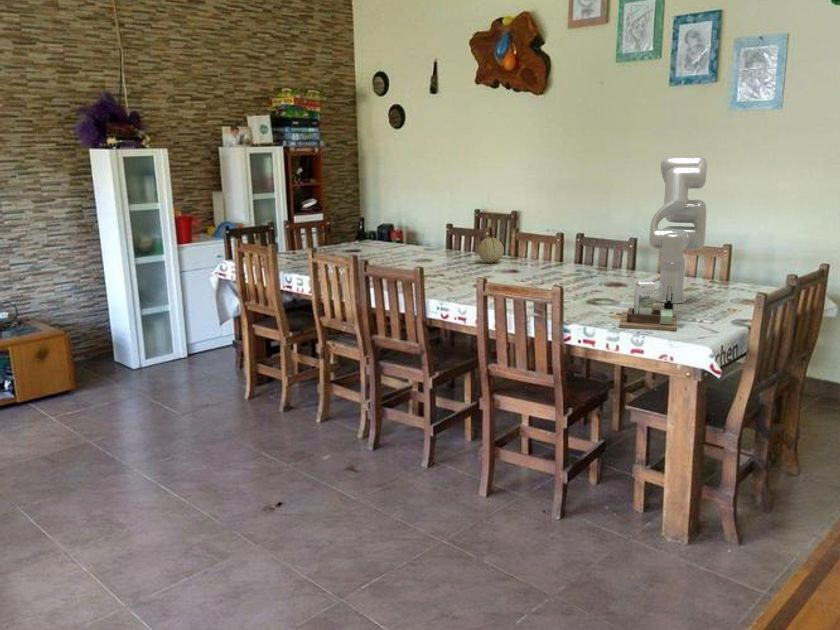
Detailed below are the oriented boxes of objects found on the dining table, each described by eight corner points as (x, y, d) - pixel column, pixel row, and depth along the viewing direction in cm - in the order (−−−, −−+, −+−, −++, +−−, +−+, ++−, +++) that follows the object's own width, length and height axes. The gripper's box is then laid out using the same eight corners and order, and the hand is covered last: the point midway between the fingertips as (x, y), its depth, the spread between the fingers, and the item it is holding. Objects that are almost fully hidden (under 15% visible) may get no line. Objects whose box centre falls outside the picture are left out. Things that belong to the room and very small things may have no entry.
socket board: (622, 314, 288) (623, 304, 287) (676, 317, 281) (676, 306, 280) (619, 327, 267) (619, 316, 266) (676, 331, 261) (677, 319, 260)
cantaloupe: (493, 265, 405) (493, 239, 402) (472, 263, 415) (472, 237, 412) (509, 262, 416) (509, 236, 412) (488, 260, 426) (488, 234, 422)
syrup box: (648, 317, 277) (650, 280, 273) (652, 321, 271) (654, 283, 267) (633, 317, 277) (634, 280, 273) (637, 321, 271) (639, 283, 268)
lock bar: (661, 315, 278) (661, 308, 277) (672, 316, 277) (672, 308, 276) (660, 323, 266) (661, 315, 265) (672, 324, 265) (672, 316, 264)
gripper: (660, 262, 282) (658, 308, 286) (660, 269, 268) (657, 317, 273) (681, 262, 279) (678, 308, 284) (681, 270, 266) (678, 318, 270)
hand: (668, 313), depth 278 cm, fingers closed
